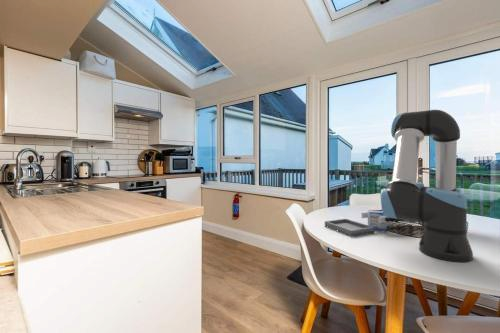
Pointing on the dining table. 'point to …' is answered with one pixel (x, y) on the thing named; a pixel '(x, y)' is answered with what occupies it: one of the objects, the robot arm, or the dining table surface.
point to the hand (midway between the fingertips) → (370, 217)
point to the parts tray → (349, 227)
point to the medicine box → (376, 220)
